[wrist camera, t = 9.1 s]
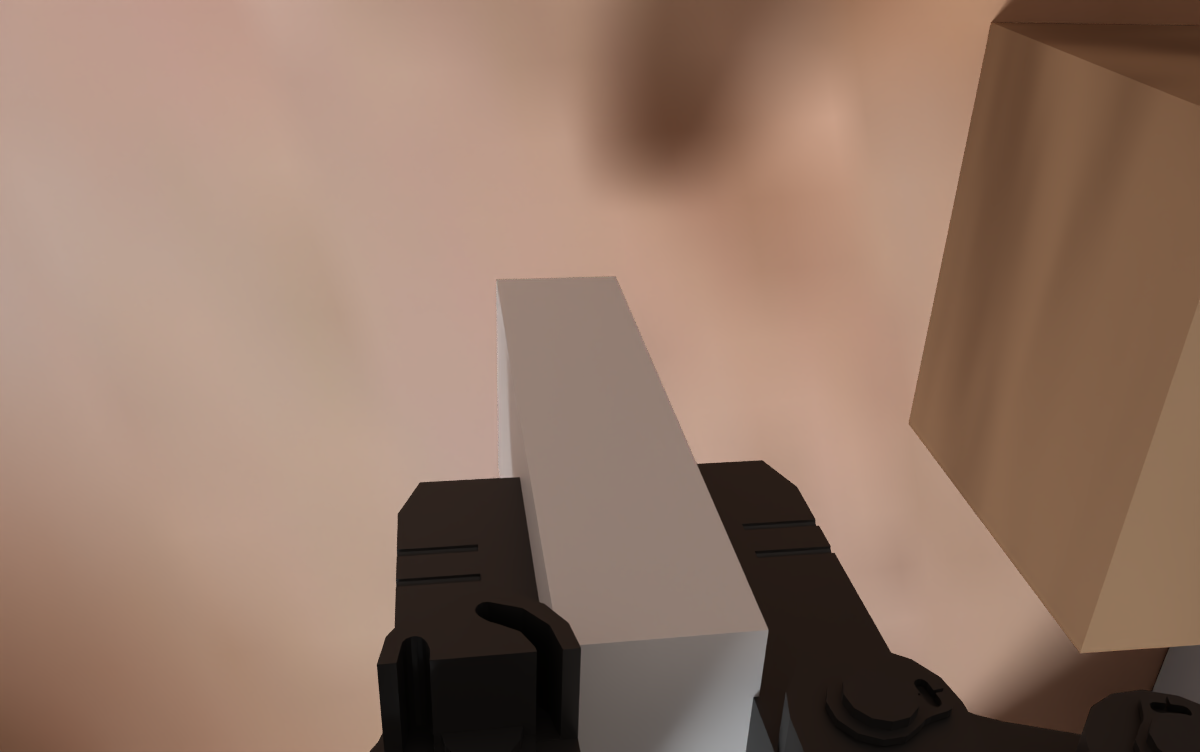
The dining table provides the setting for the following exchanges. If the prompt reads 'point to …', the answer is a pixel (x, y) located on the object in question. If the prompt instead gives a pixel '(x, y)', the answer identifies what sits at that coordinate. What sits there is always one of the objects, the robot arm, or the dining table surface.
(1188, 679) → the bar
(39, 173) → the dining table surface
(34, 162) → the dining table surface
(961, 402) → the walnut block
